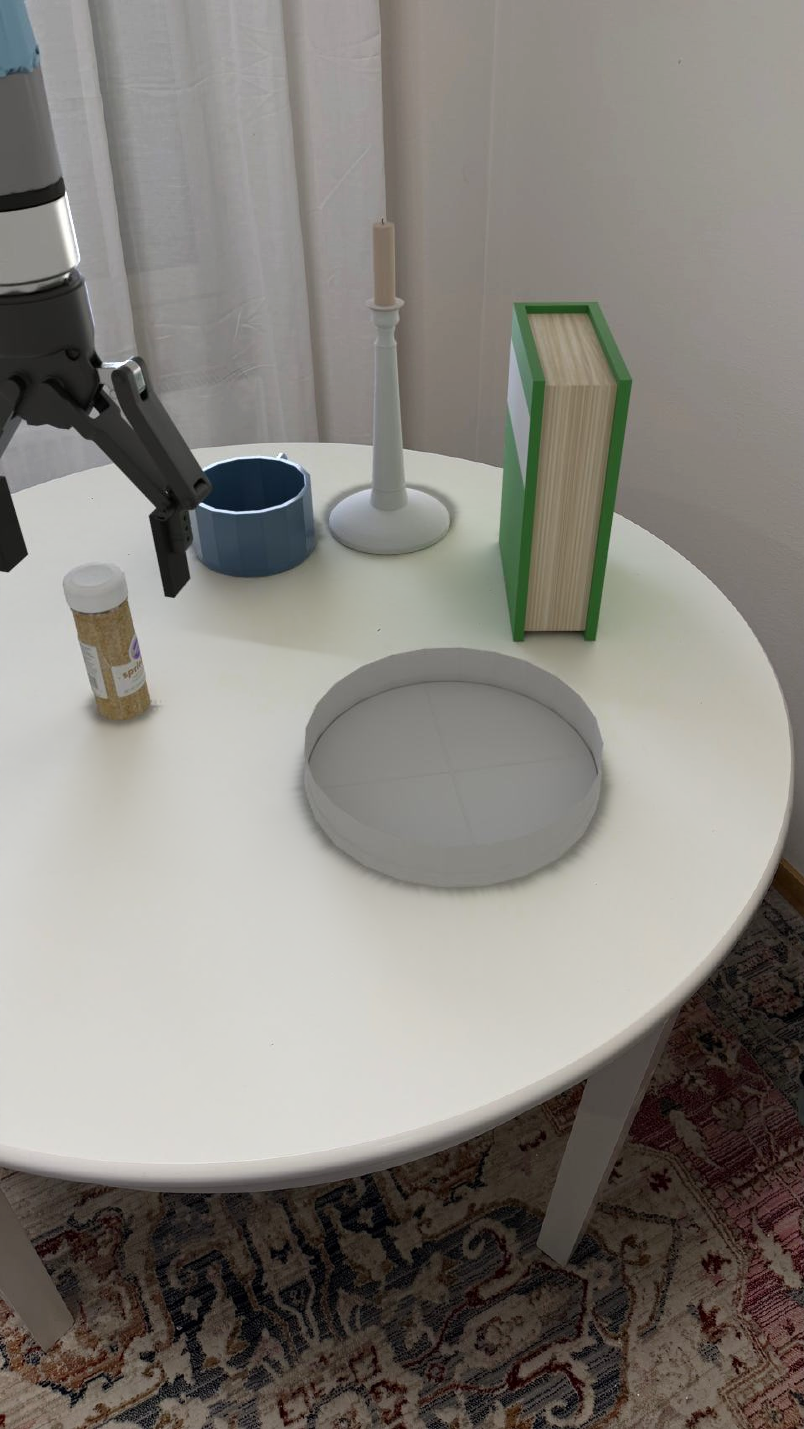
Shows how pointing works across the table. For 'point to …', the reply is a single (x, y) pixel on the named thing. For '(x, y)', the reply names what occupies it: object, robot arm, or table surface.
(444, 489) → the table surface
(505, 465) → the hardback book
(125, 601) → the sprinkles bottle
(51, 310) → the robot arm
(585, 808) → the dish
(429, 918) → the table surface
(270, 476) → the blue pot
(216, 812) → the table surface
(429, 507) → the candlestick
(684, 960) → the table surface
